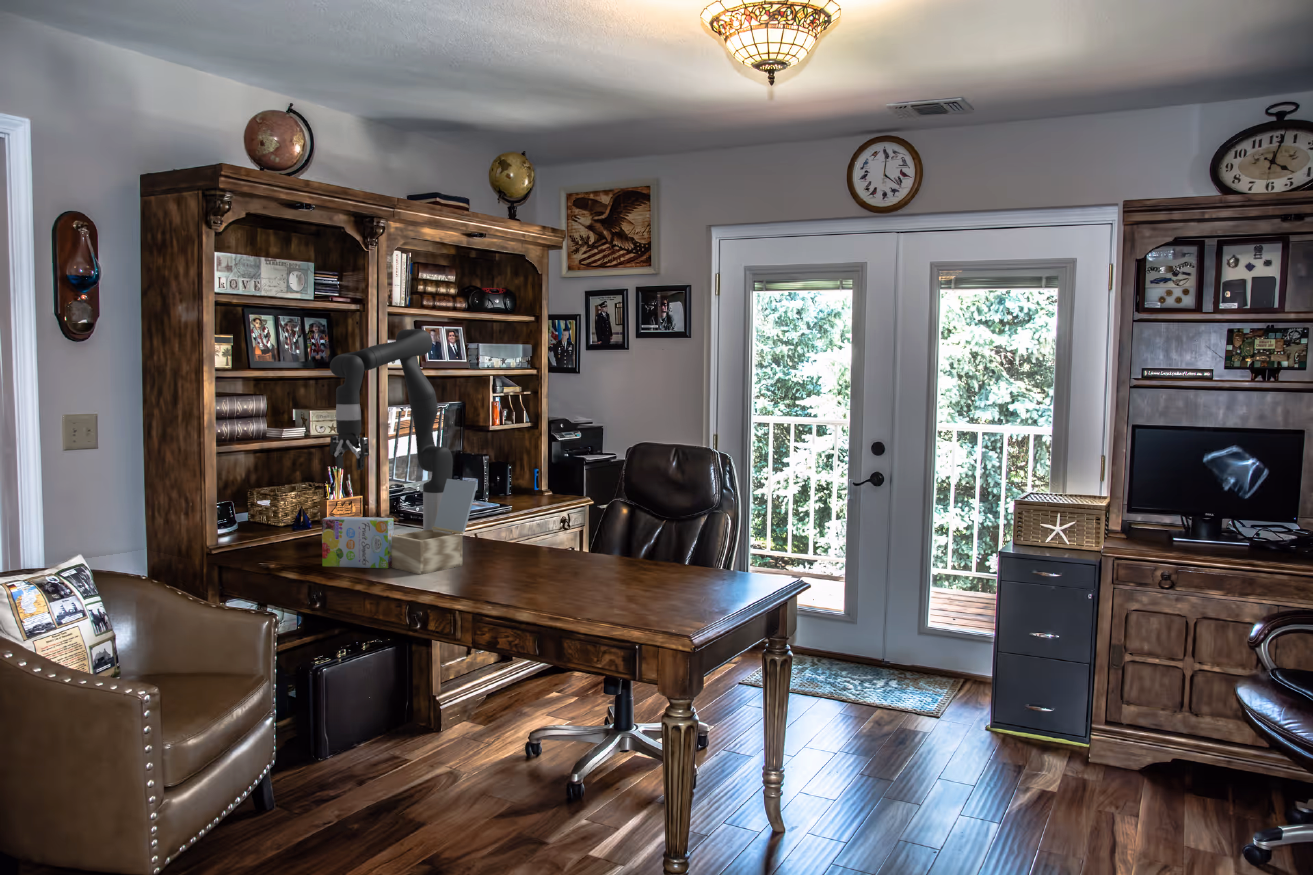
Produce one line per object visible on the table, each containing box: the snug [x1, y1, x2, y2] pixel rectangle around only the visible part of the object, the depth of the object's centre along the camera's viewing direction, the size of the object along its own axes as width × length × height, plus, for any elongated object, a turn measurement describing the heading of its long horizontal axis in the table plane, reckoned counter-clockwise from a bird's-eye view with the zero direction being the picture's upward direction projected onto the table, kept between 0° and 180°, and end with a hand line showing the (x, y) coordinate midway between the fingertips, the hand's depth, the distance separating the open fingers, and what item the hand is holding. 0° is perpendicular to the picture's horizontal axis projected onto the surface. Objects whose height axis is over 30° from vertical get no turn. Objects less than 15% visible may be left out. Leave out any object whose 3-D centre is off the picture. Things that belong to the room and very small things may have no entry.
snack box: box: [321, 516, 395, 569], centre depth 289 cm, size 21×6×15 cm, turn 84°
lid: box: [432, 478, 478, 536], centre depth 296 cm, size 17×14×1 cm
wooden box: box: [391, 529, 464, 575], centre depth 289 cm, size 16×14×10 cm
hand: (349, 469), depth 298 cm, fingers open, 8 cm apart
